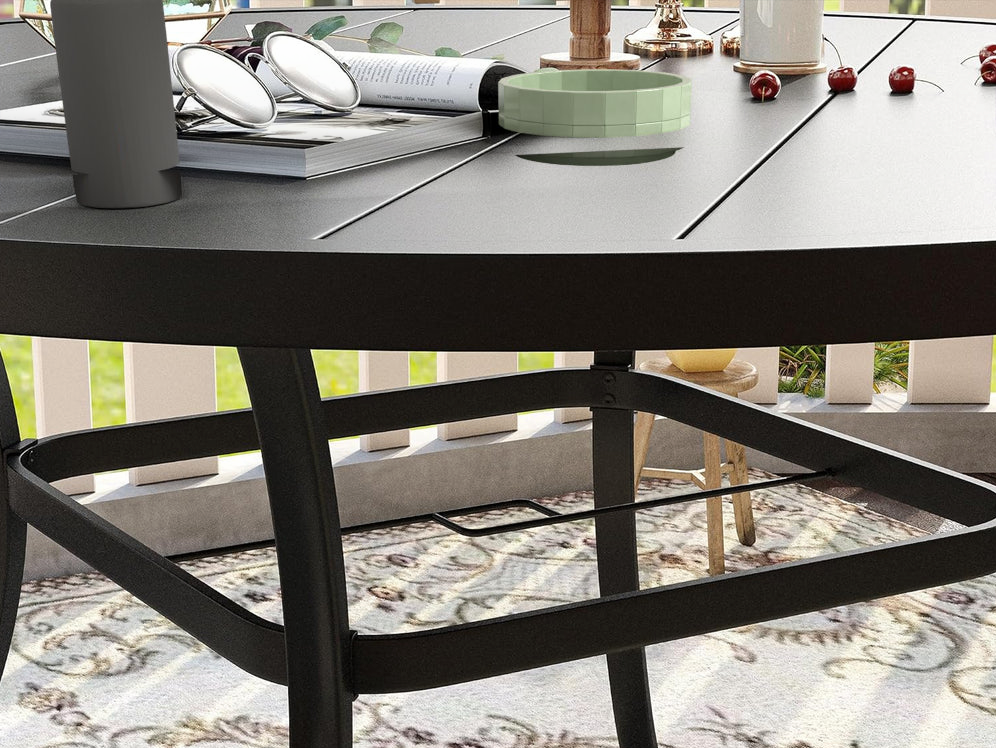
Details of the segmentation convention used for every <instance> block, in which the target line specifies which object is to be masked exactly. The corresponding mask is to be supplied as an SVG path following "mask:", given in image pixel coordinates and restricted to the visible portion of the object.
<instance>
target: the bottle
mask: <svg viewBox="0 0 996 748" xmlns="http://www.w3.org/2000/svg"><path fill="white" fill-rule="evenodd" d="M49 4H50V17H51V24H52V31H53V33H52V34H53V38H54V39H53V40H54V48H55V56H56V65H57V70H58V72H57V73H58V77H59V78H58V79H59V85H60V94H61V95H60V96H61V101H62V109H63V117H64V123H65V131H66V139H67V140H66V141H67V146H68V153H69V161H70V168H71V170H72V171H73V172H76V173H79V174H72V182H73V189H74V195H75V199H76V203H78V204H79V205H82V206H86V207H90V208H96V209H134V208H135V209H137V208H145V207H153V206H157V205H164V204H168V203H171V202H173V201H176V200H179V199H180V198H182V195H183V187H182V173H181V169H171V168H175V167H177V166H179V165H180V152H179V144H178V143H179V142H178V133H177V123H176V111H175V102H174V101H175V100H174V95H173V94H174V92H173V84H172V83H173V82H172V75H171V74H172V73H171V63H170V56H169V46H168V35H167V27H166V19H165V8H164V2H163V0H50V2H49ZM169 169H171V170H169Z"/></svg>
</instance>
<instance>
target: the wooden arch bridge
mask: <svg viewBox="0 0 996 748" xmlns="http://www.w3.org/2000/svg"><path fill="white" fill-rule="evenodd" d="M549 1H550V2H563V1H566V2H567V1H569V0H549ZM411 3H412V4H414V5H435V4H440V3H441V0H411Z"/></svg>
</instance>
